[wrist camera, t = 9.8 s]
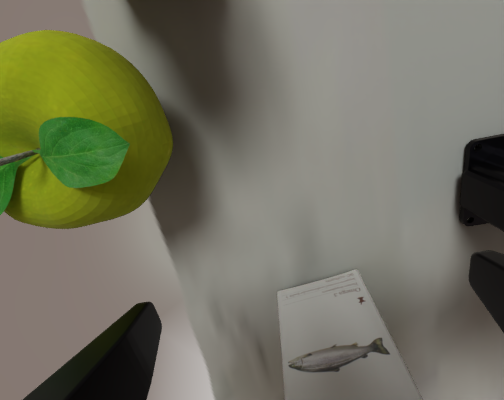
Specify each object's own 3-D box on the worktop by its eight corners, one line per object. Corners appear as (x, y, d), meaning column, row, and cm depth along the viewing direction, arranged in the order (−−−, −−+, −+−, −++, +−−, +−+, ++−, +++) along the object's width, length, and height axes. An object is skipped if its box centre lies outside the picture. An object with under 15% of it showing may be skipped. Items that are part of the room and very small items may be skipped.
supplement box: (357, 265, 23) (458, 451, 11) (375, 327, 26) (470, 530, 14) (273, 288, 24) (286, 478, 12) (298, 345, 27) (328, 546, 15)
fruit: (207, 169, 20) (162, 242, 11) (93, 199, 21) (-34, 287, 12) (158, 28, 17) (33, -40, 7) (26, 73, 18) (-221, 62, 9)
